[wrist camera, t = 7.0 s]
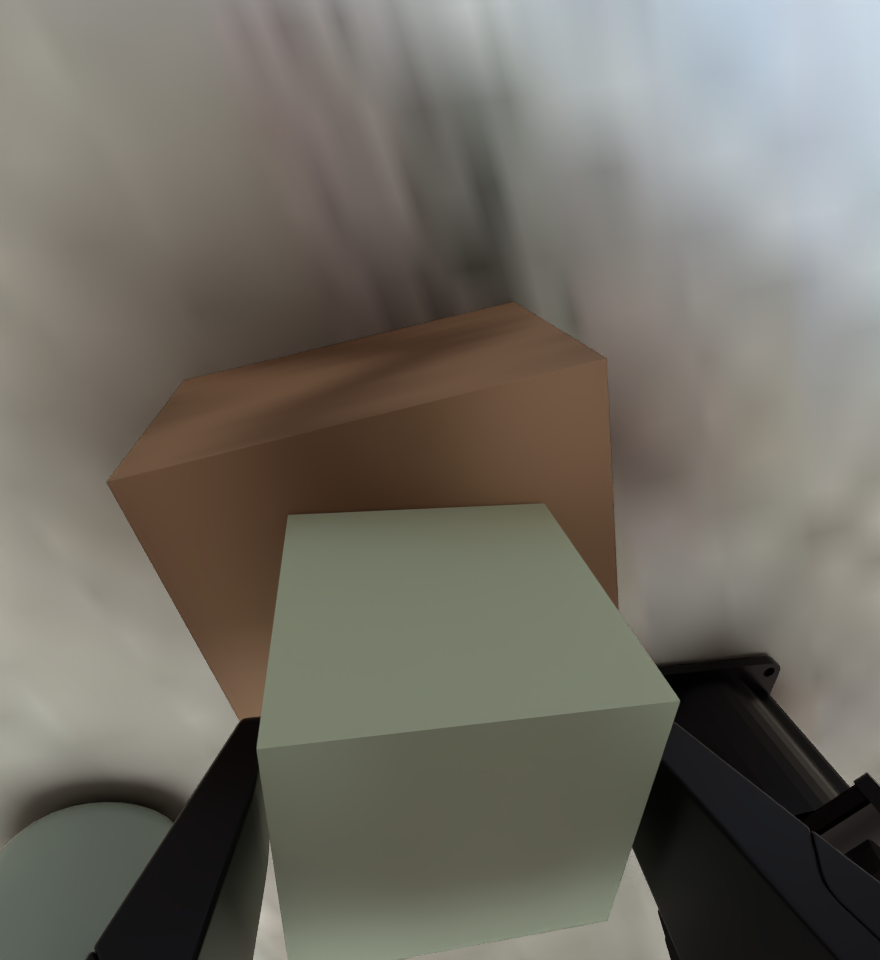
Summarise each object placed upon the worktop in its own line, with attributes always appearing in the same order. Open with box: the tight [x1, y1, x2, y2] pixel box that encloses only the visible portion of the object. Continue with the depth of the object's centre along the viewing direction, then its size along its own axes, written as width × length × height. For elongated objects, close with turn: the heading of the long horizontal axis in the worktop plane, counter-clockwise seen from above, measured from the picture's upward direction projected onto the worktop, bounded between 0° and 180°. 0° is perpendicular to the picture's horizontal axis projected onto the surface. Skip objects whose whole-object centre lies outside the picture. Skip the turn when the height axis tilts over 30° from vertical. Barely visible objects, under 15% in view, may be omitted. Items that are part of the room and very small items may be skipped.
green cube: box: [256, 503, 680, 960], centre depth 10 cm, size 5×5×5 cm
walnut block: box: [107, 302, 619, 721], centre depth 15 cm, size 9×9×6 cm
